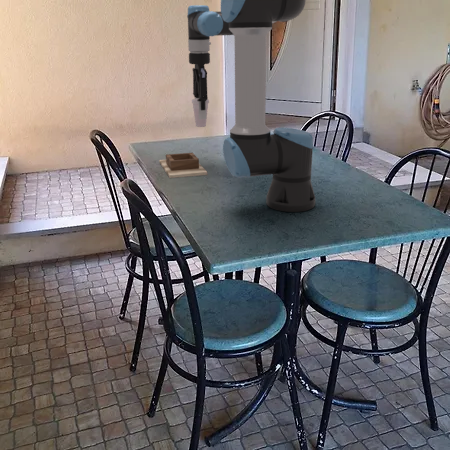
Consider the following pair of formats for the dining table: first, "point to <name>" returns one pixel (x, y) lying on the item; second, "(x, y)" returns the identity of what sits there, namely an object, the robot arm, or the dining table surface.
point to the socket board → (182, 165)
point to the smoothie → (196, 113)
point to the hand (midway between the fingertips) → (200, 117)
